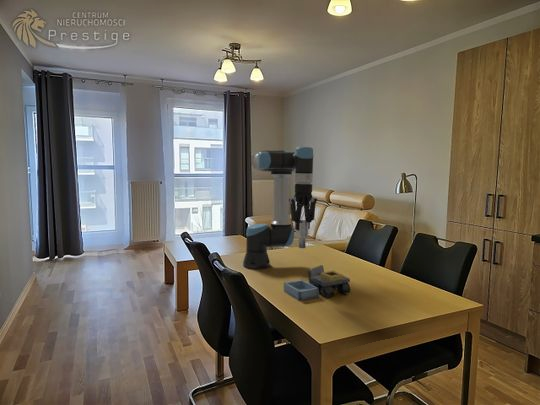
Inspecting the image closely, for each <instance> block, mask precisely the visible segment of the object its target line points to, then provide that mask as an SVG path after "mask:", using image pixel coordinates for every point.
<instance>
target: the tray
mask: <svg viewBox="0 0 540 405" xmlns="http://www.w3.org/2000/svg"><path fill="white" fill-rule="evenodd" d="M283 292H284V293H285V294H288V296H291V297H292V298H294V299H295V300H297V301H299V302H301V301H307V300H312V299H316V298H320V296H319V295H320V294H319V293H320V291H319V288H317V287H315V286H313V285H312V284H310V283H309V281H308V282H307V281H306V280H304V279H298V280H292V281H286V282H283Z"/></svg>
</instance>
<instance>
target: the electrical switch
mask: <svg viewBox="0 0 540 405" xmlns="http://www.w3.org/2000/svg"><path fill="white" fill-rule="evenodd" d="M306 272H307V277H308V283H310V284H311V281H312V280H311V276H317V275H321V273H322V272H325V269H324V265H321V264H320V265H318V266H314V267H312V268H310V269H308V270H306Z"/></svg>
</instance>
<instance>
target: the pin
mask: <svg viewBox="0 0 540 405" xmlns="http://www.w3.org/2000/svg"><path fill="white" fill-rule="evenodd" d="M300 223H302V227H301V238H298V248H299V249H306V245H307V244H306V243H307V240H306V239H307V237H306V220H305V219H300Z"/></svg>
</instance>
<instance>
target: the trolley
mask: <svg viewBox="0 0 540 405" xmlns="http://www.w3.org/2000/svg"><path fill="white" fill-rule="evenodd" d="M311 280H312V281H311V284H312V285H313V286H315V287H317V288H319V292H320V293H321V296H322V297H323V298H325V299H327V298H332V297H333V296H335V291H334V290H335V289H337V291H338V293H339V294H340V295H341V296H342V295H347V294H349V293H350V292H351V286H350V281H351V279H350V277H348V276H345V275H344V274H343V273H342V274H341V273H340V272H337V271H336V270H335V271H334V270H330V271H324V272H322V273H321V275H317V276H312V275H311Z"/></svg>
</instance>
